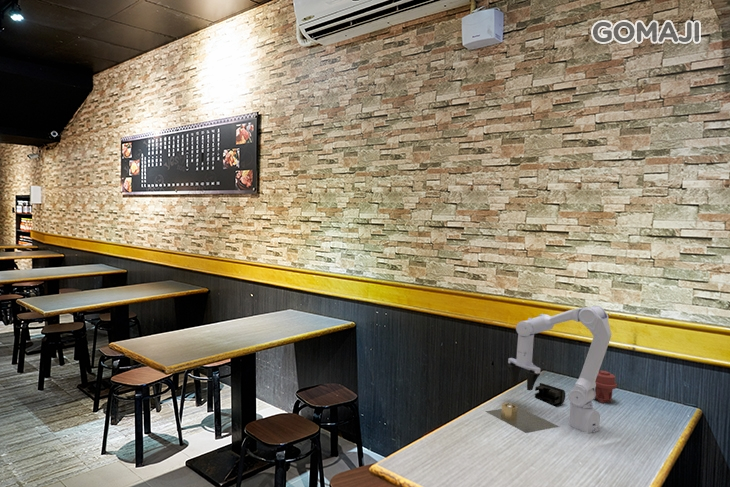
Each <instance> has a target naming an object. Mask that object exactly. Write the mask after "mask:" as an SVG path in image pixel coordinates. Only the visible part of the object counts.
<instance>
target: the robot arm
mask: <svg viewBox="0 0 730 487" xmlns="http://www.w3.org/2000/svg"><path fill="white" fill-rule="evenodd" d="M538 315H539V316H536V317H533V318H532V317H528V318H527V320H520V321H519V322H517V323H516V326H515V331H516V333H517V334H518V335H517V345H516V358H513V357H509V358H508V359H507V360H508V361H507V363H508V365H507V369H508V371H509V373H510V377H511V382H512V384H513V385H517V384H518V383H519V376H520V371H521V368H523V369H524V370H528V371H525V376H526V389H527V391H532V390H533V388H534V386H535V384H536V382H537V380H538V378H539V377H540V375H541V367H538V366H537V365H535V364H534V362H533V355H534V354H533V352H534V351H533V349H534V339H535V335H536V334H539V333H542V332H547V331H551V330H553V328H554V326H555V325H557V324H561V323H565V322H569V321H575V322H577V323H578V322H580V323H581V324H582V325H583V326H584V327H586V328H587V329H588V330H589V331H590V333H591V334H592V337H593V338H592V340H591V343H590V346H589V348H588V352H587V355H586V358H585V360H584V364H583V366H582V370H581V372H580V374H579V377H578V379H577V380H576V382H575V383H574V386H573V387H572V388H571V389H570V390H569V391H568V396H567V397H568V400H569V402H570V404H569V413H568V414H569V418H568V425H569V426H570V427H571V428H574V429H577V430H579V431H582V432H584V433H586V434H590V433H596V432H599V431H600V423H601V415H600V413H599V411H598V410H596V409H594V405H593V402H592V401H594V400H595V399H596V398H595V396H596V393H595V387H596V383H595V381H596V378H597V375H598V372H599V371H600V369H601V366H602V363H603V360H604V357H605V355H606V353H607V350H608V346H609V344H610V341H611V339H612V331H611V325H610V323H609V315H608V313H607V312H606V310H605V309H604V308H603V307H602V306H600V305H591V306H590V307H589V306H586V307H580V308H573V309H569V310H566V311H562V312H561V313H558V314H554V315H552V316H551V315H549V314H544V313H541V314H538Z"/></svg>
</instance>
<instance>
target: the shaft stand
mask: <svg viewBox="0 0 730 487" xmlns="http://www.w3.org/2000/svg"><path fill="white" fill-rule="evenodd" d="M507 407H511V408H512V405H507ZM485 412H486V413H488V415H491V416H493V417H494V418H496V419H499V420H500V421H502V422H505V423H506V424H508V425H510V426H512V427H514V428H516V429H517V430H519V431H522V432H523V433H525V434H529V433H533V432H534V433H535V432H539V431H544V430H548V429H549V430H550V429H554V428H559V427H560V426H559V425H558V424H555V423H553V422H551V421H549V420H546V419H545V418H542V417H540V416H538V415H536V414H534V413H532V412H530V411H528V410H525V409H524V408H521V407H519V406H518V409H517V418H516V419H513V420H510V419H506V418H504V417H502V416H501V412H502V408H499V409H492V410H486V411H485Z"/></svg>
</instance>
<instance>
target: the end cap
mask: <svg viewBox="0 0 730 487" xmlns="http://www.w3.org/2000/svg"><path fill="white" fill-rule="evenodd" d="M534 390H535V392H536V393H534V398H535V399H536V400H539V401H541V402H543V403H545V404H548V405H551V406H553V407H555V408H558V407H561V406H562V405H563V404H564V402H565V400H566V391H565V390H564V389H562V388H559V387H555V386H552V385H550V384H545V383H543V382H540V383H539V385H538V386H535V388H534ZM537 391H538V392H537Z"/></svg>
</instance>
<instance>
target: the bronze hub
mask: <svg viewBox="0 0 730 487" xmlns="http://www.w3.org/2000/svg"><path fill="white" fill-rule="evenodd" d="M507 405H512V408H511V407H507ZM518 407H519V406H518V405H516V404H514V403H510V402H505V403H502V404H501V409H502V412H501V416H502V417H504V418H506V419H510V420H513V419H516V418H517V409H518Z"/></svg>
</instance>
